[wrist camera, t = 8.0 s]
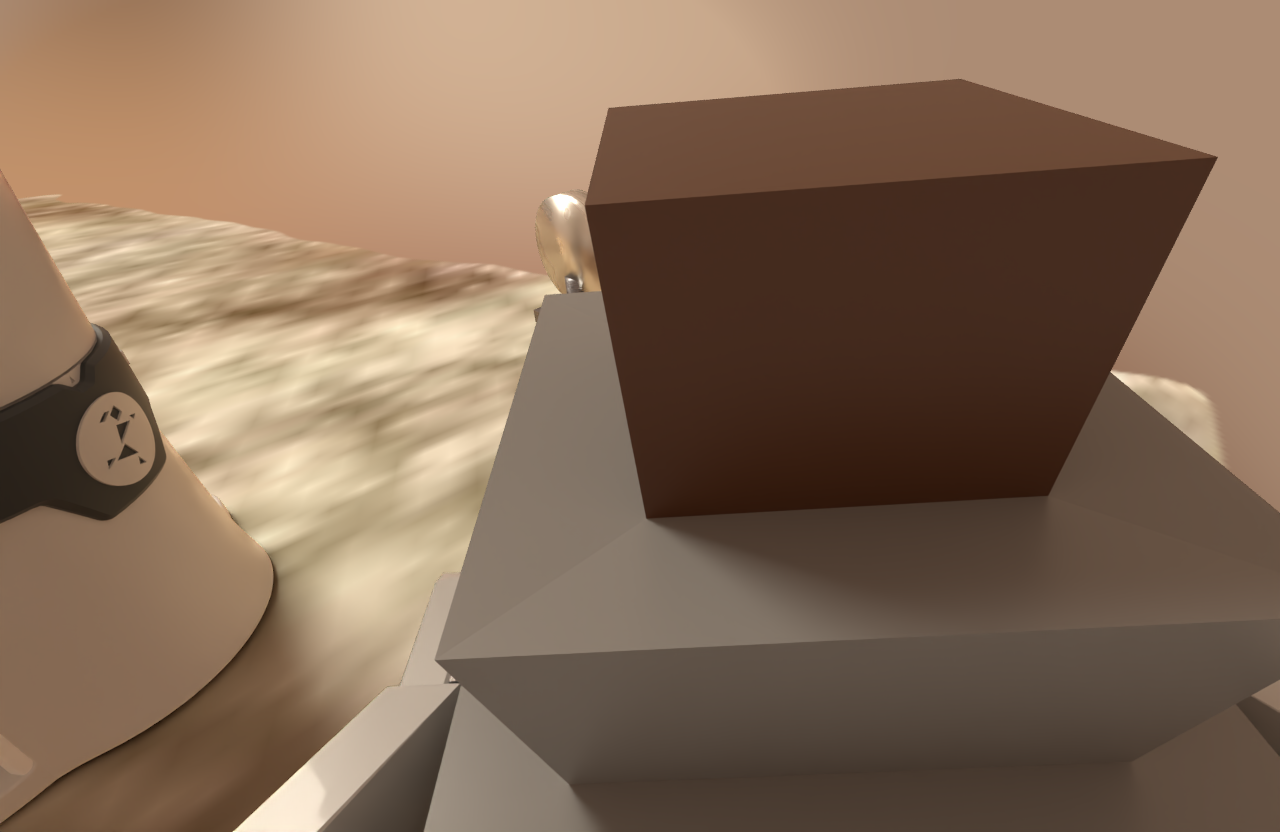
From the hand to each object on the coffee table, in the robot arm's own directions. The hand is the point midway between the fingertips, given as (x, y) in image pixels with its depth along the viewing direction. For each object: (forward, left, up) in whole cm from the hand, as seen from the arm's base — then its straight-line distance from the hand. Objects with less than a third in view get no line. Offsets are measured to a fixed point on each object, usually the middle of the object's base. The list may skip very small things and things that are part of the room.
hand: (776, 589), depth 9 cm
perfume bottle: (0, -1, -12) cm, 13 cm away
